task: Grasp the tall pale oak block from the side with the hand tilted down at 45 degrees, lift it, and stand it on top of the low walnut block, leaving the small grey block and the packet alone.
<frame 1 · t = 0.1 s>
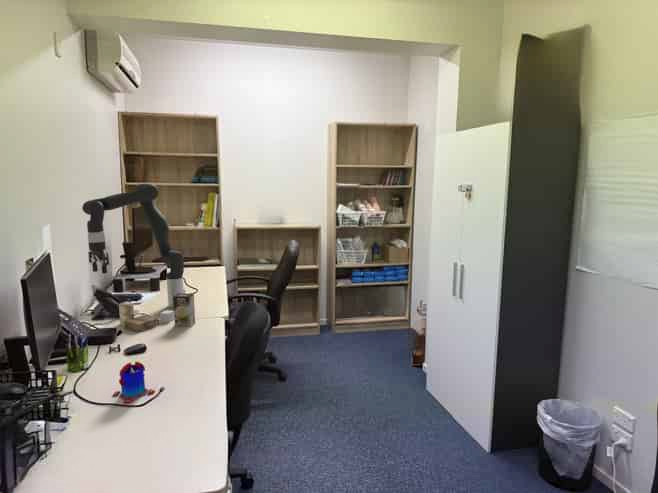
hand: (100, 272, 225), 29 cm above the table, tool pointing down, fingers open, 8 cm apart
fantasy tower: (133, 394, 159), on the table
coffee box: (185, 324, 233), on the table
walnut block: (140, 327, 229), on the table
oak block: (127, 323, 235), on the table
grey block: (167, 320, 239), on the table
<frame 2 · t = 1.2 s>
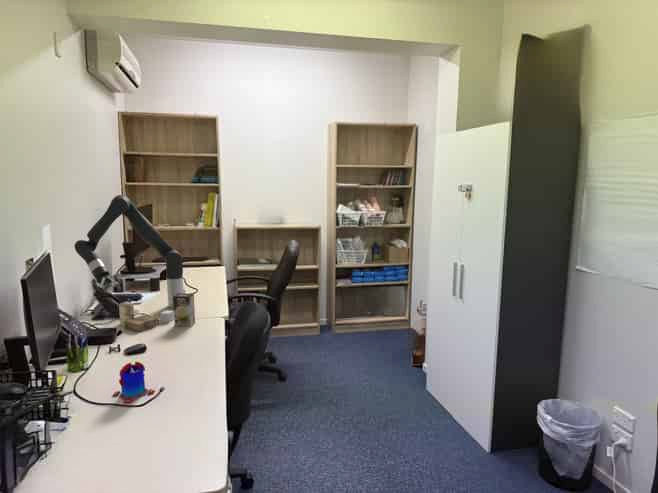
hand: (112, 292, 239), 15 cm above the table, tool tilted 45°, fingers open, 8 cm apart
nothing on the table moved.
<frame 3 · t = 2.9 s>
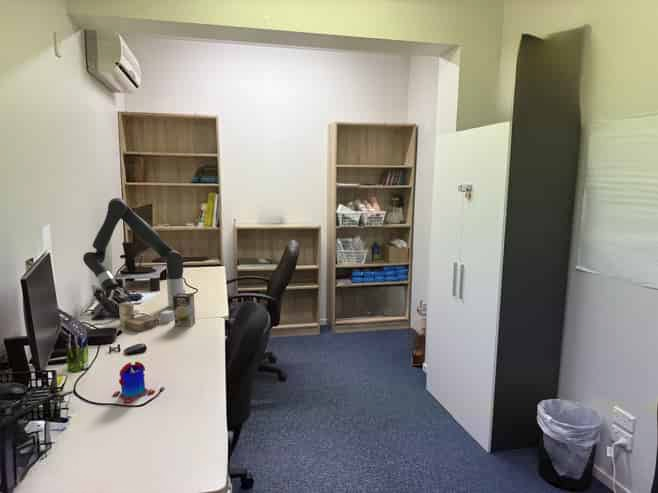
hand: (121, 305, 236), 9 cm above the table, tool tilted 45°, fingers open, 8 cm apart
nothing on the table moved.
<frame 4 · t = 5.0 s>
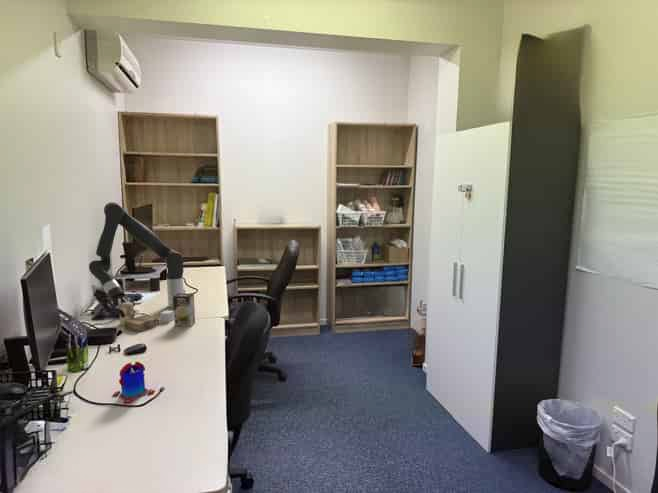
hand: (129, 315, 234), 5 cm above the table, tool tilted 45°, fingers closed on oak block, 5 cm apart
oak block: (127, 323, 235), on the table, touching gripper
everything else where it was.
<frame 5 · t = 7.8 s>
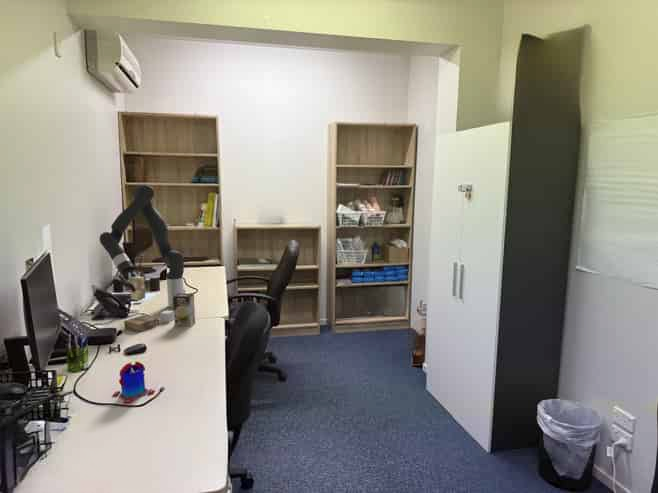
hand: (139, 290, 225), 20 cm above the table, tool tilted 45°, fingers closed on oak block, 5 cm apart
oak block: (138, 298, 227), point 15 cm above the table, touching gripper
everything else where it was.
when the fingers open (10 cm above the table, at t = 10.8 s): oak block stays where it is, resting on walnut block.
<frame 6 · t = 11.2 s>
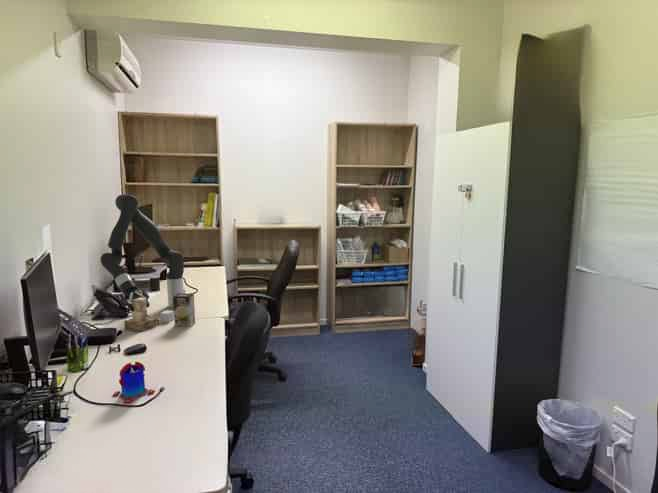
hand: (141, 308, 227), 10 cm above the table, tool tilted 45°, fingers open, 8 cm apart
oak block: (140, 319, 229), point 4 cm above the table, touching walnut block
everything else where it was.
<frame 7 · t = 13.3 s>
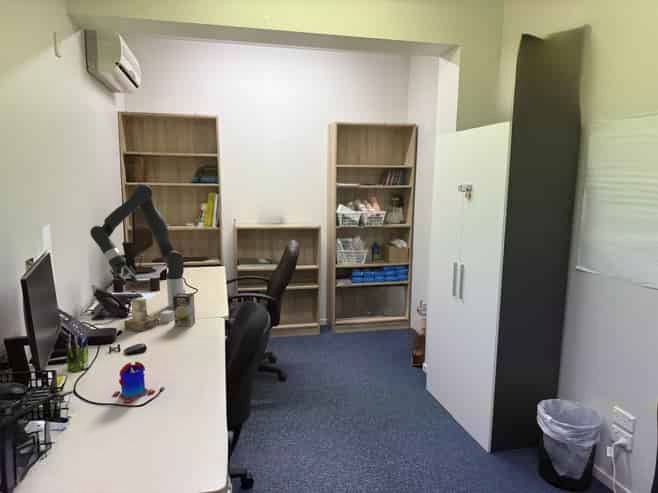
hand: (130, 283, 233), 21 cm above the table, tool tilted 40°, fingers open, 8 cm apart
nothing on the table moved.
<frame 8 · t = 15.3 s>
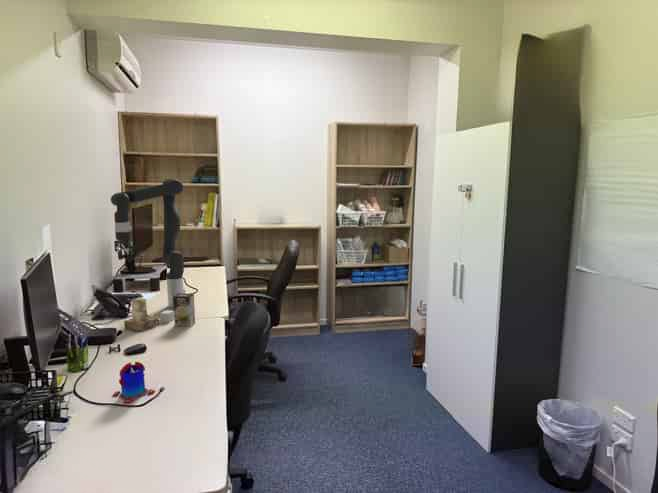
hand: (125, 260, 241), 32 cm above the table, tool pointing down, fingers open, 8 cm apart
nothing on the table moved.
at the end: oak block inside the target area on the walnut block (0.1 cm from its centre), point 4.0 cm above the walnut block's base; oak block tilted 0°; the gripper is holding nothing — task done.
